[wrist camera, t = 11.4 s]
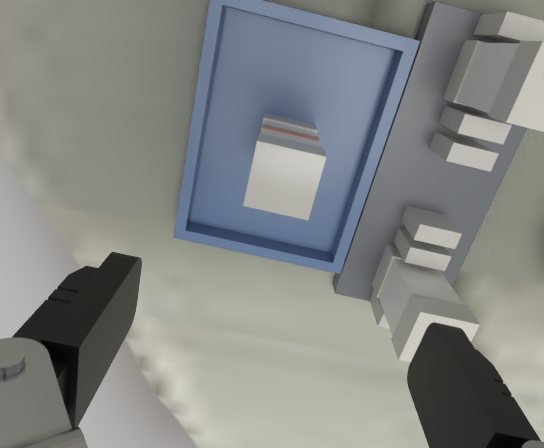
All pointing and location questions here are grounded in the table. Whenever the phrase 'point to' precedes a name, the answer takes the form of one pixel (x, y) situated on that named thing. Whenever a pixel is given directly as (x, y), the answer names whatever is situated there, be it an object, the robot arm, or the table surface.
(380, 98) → the tray
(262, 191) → the block
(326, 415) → the table surface
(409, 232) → the fuse holder
